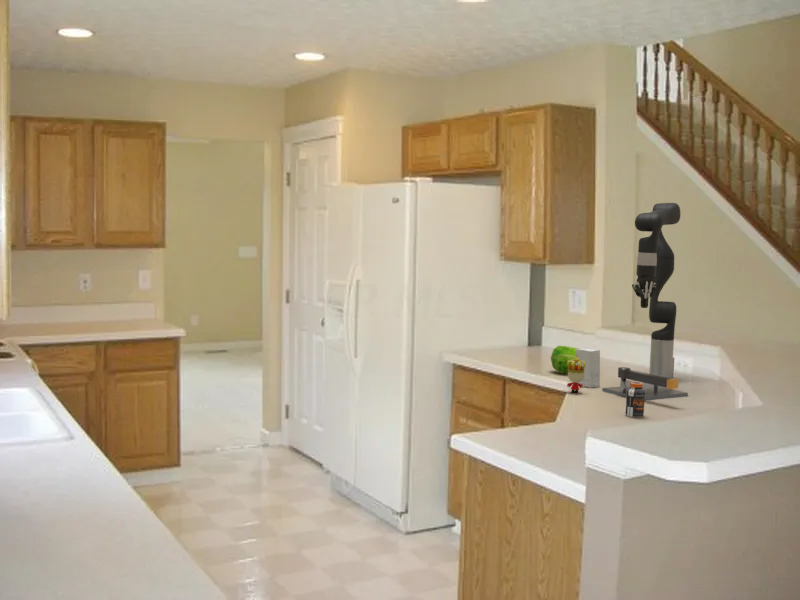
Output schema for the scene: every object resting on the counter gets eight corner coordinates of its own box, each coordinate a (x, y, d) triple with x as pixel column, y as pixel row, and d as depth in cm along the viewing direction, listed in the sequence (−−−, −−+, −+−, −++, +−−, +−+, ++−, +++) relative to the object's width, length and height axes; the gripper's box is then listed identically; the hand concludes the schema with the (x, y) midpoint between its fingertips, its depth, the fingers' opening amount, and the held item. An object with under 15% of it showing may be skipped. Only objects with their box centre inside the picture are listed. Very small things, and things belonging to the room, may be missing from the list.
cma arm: (679, 388, 315) (679, 378, 315) (670, 389, 313) (671, 379, 312) (623, 376, 338) (624, 366, 338) (615, 376, 336) (615, 367, 335)
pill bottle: (632, 418, 295) (634, 384, 294) (621, 414, 300) (623, 381, 299) (647, 417, 297) (649, 383, 296) (636, 413, 303) (637, 380, 302)
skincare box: (599, 387, 352) (601, 350, 351) (589, 388, 349) (590, 350, 348) (584, 383, 359) (586, 347, 358) (573, 384, 356) (575, 348, 355)
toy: (585, 392, 340) (587, 353, 339) (583, 395, 333) (585, 355, 332) (567, 390, 342) (568, 352, 341) (564, 393, 336) (566, 354, 334)
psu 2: (653, 386, 350) (653, 376, 349) (670, 390, 342) (671, 380, 341) (640, 388, 346) (640, 377, 346) (657, 392, 338) (658, 381, 338)
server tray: (648, 386, 356) (649, 370, 356) (687, 396, 339) (688, 378, 338) (602, 391, 344) (603, 374, 343) (640, 400, 326) (641, 382, 326)
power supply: (636, 388, 345) (637, 377, 345) (653, 392, 337) (654, 381, 337) (623, 389, 341) (623, 379, 341) (640, 393, 334) (641, 383, 333)
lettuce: (598, 377, 375) (599, 349, 374) (550, 375, 378) (551, 347, 377) (596, 372, 388) (597, 345, 387) (549, 370, 391) (550, 343, 390)
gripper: (641, 264, 344) (639, 309, 346) (665, 264, 351) (663, 308, 352) (627, 263, 351) (625, 307, 352) (651, 263, 357) (649, 306, 359)
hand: (644, 307), depth 352 cm, fingers closed
